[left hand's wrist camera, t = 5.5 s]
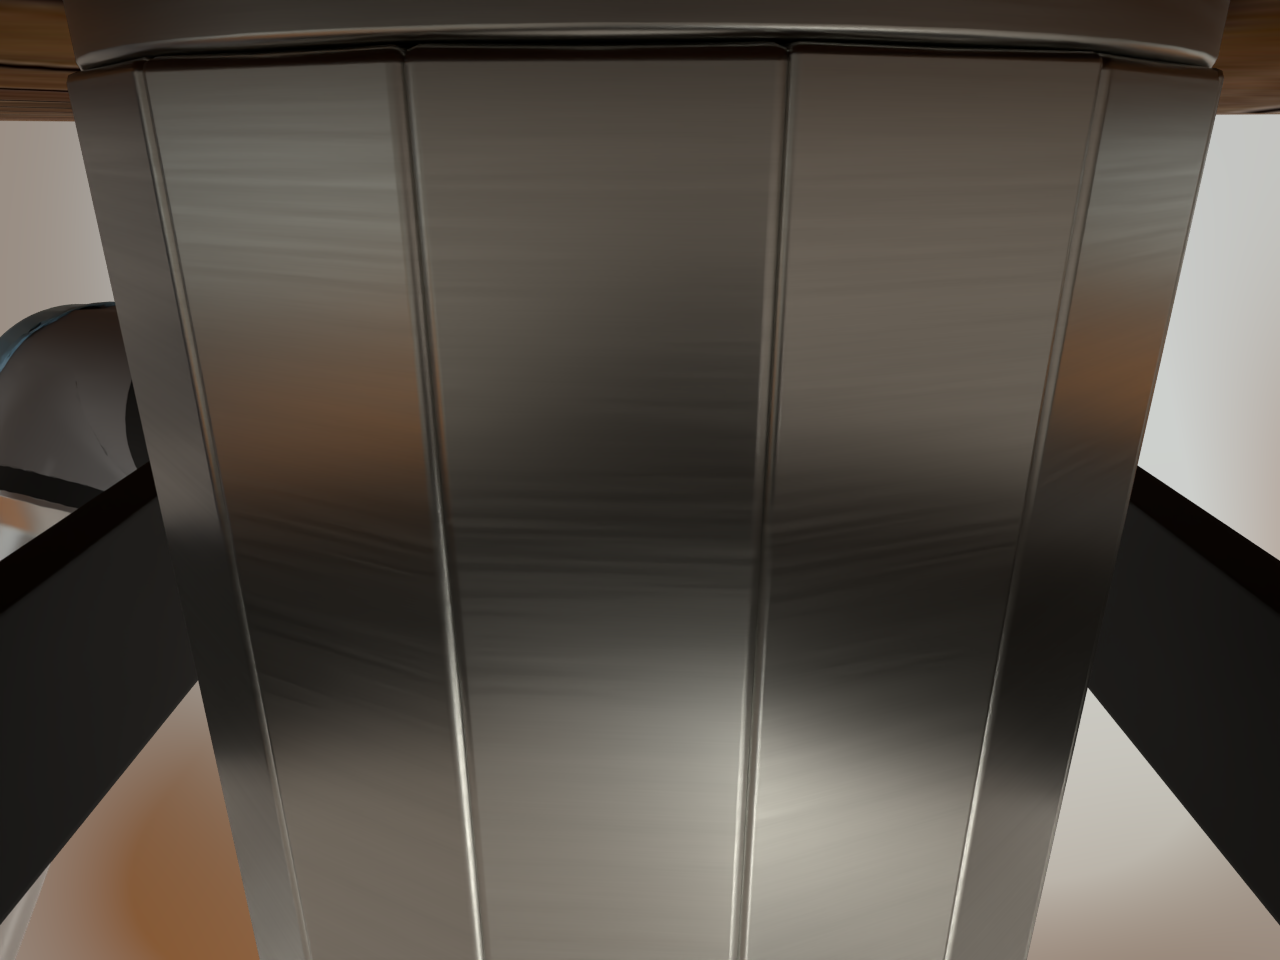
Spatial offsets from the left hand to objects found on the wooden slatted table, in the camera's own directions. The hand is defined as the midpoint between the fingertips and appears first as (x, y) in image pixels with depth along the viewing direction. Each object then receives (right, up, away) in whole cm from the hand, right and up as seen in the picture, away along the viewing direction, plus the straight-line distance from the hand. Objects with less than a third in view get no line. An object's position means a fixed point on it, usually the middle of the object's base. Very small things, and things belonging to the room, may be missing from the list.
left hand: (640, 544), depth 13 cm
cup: (0, +5, -5) cm, 7 cm away
